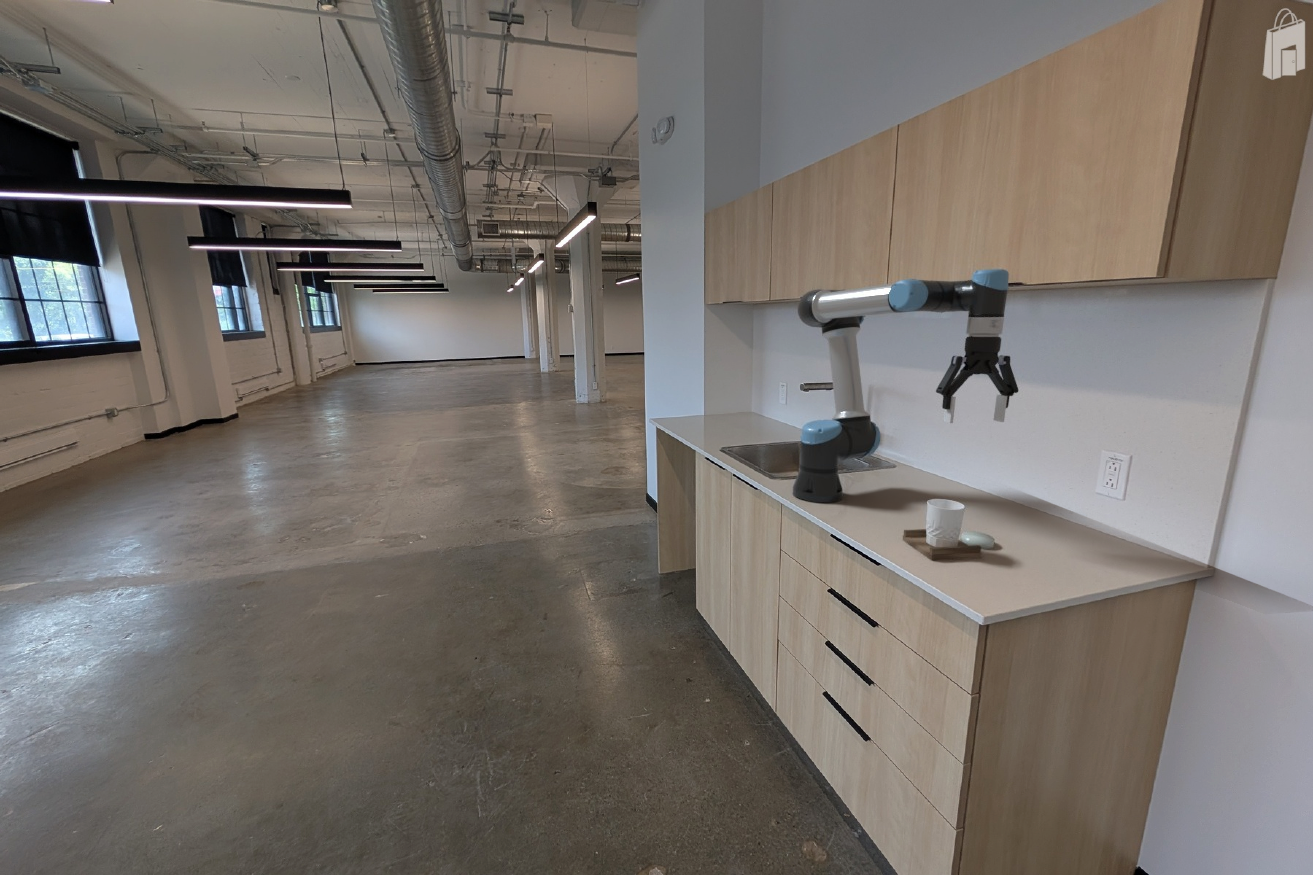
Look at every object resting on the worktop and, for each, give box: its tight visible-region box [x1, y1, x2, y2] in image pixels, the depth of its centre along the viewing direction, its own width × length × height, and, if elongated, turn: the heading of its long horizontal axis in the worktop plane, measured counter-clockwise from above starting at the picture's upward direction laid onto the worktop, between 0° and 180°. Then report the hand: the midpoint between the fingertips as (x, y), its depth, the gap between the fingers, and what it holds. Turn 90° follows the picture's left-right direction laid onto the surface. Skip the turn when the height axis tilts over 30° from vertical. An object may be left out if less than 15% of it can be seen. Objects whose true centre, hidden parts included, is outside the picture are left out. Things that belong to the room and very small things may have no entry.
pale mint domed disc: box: [960, 531, 995, 550], centre depth 132 cm, size 7×7×2 cm
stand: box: [902, 528, 982, 561], centre depth 129 cm, size 12×12×3 cm
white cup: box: [925, 498, 966, 547], centre depth 128 cm, size 8×8×10 cm
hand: (973, 421), depth 136 cm, fingers open, 13 cm apart
